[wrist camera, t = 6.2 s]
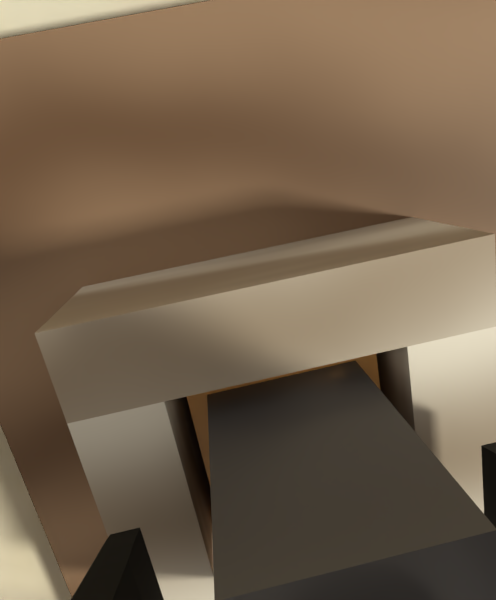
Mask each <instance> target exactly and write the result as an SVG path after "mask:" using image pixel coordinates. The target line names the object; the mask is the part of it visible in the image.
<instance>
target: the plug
mask: <svg viewBox="0 0 496 600" xmlns="http://www.w3.org/2000/svg"><path fill="white" fill-rule="evenodd" d="M207 404H208V432H209V460H210V488H211V515H212V543H213V571H214V599H215V600H496V528H495V526H494V525H493V524H492V523H491V522H490V521H489V519H488V518H487V517H486V516H485V515H484V513H483V512H482V511H481V510H480V509H479V507H478V506H477V505H476V504H475V503H474V501H473V500H472V499H471V498H470V497H469V495H468V494H467V493H466V492H465V491H464V489H463V488H462V487H461V486H460V485H459V484H458V482H457V481H456V480H455V479H454V478H453V476H452V475H451V474H450V473H449V472H448V470H447V469H446V468H445V467H444V466H443V464H442V463H441V462H440V461H439V460H438V458H437V457H436V456H435V455H434V454H433V453H432V451H431V450H430V449H429V448H428V447H427V445H426V444H425V443H424V442H423V441H422V439H421V438H420V437H419V436H418V435H417V433H416V432H415V431H414V430H413V429H412V427H411V426H410V425H409V424H408V423H407V421H406V420H405V419H404V418H403V417H402V416H401V414H400V413H399V412H398V411H397V410H396V408H395V407H394V406H393V405H392V404H391V402H390V401H389V400H388V399H387V398H386V396H385V395H384V394H383V393H382V392H381V390H380V389H379V388H378V387H377V386H376V384H375V383H374V382H373V381H372V380H371V379H370V377H369V376H368V375H367V374H366V373H365V371H364V370H363V369H362V368H361V367H360V365H359V364H358V363H357V362H356V361H351V362H347V363H343V364H338V365H334V366H330V367H325V368H321V369H317V370H312V371H308V372H304V373H299V374H295V375H291V376H286V377H282V378H278V379H273V380H269V381H265V382H260V383H256V384H252V385H247V386H243V387H239V388H234V389H230V390H226V391H221V392H217V393H213V394H208V395H207Z"/></svg>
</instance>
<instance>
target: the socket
mask: <svg viewBox="0 0 496 600" xmlns="http://www.w3.org/2000/svg"><path fill="white" fill-rule="evenodd" d="M372 354H376V355H377V364H378V372H379V381H380V389H381V392H382V393H383V394H384V395H385V396H386V398H387V399H388V400H389V401H390V402H391V404H392V405H393V406H394V407H395V408H396V410H397V411H398V412H399V413H400V414H401V416H402V417H403V418H404V419H405V420H406V421H407V423H408V424H409V425H410V426H411V427H412V429H413V430H414V431H415V432H416V433H417V435H418V436H419V437H420V438H421V439H422V441H423V442H424V443H425V444H426V445H427V447H428V448H429V449H430V450H431V451H432V453H433V454H434V455H435V456H436V457H437V458H438V460H439V461H440V462H441V463H442V464H443V466H444V467H445V468H446V469H447V470H448V472H449V473H450V474H451V475H452V476H453V478H454V479H455V480H456V481H457V482H458V484H459V485H460V486H461V487H462V488H463V489H464V491H465V492H466V493H467V494H468V495H469V497H470V498H471V499H472V500H473V501H474V503H475V504H476V505H477V506H478V507H479V509H480V510H481V511H482V512H483V513H484V499H483V475H482V451H481V446H482V445H486V444H490V443H494V442H496V0H209V1H204V2H198V3H193V4H187V5H182V6H177V7H171V8H166V9H160V10H155V11H149V12H144V13H138V14H133V15H127V16H122V17H116V18H111V19H106V20H100V21H95V22H89V23H84V24H78V25H73V26H67V27H62V28H56V29H51V30H45V31H40V32H35V33H29V34H24V35H18V36H13V37H7V38H2V39H0V424H1V427H2V429H3V432H4V434H5V436H6V439H7V441H8V444H9V446H10V449H11V451H12V453H13V456H14V458H15V461H16V463H17V465H18V468H19V470H20V473H21V475H22V478H23V480H24V482H25V485H26V487H27V490H28V492H29V495H30V497H31V499H32V502H33V504H34V507H35V509H36V511H37V514H38V516H39V519H40V521H41V524H42V526H43V528H44V531H45V533H46V536H47V538H48V541H49V543H50V545H51V548H52V550H53V553H54V555H55V557H56V560H57V562H58V565H59V567H60V570H61V572H62V574H63V577H64V579H65V582H66V584H67V587H68V589H69V591H70V594H71V596H72V597H73V595H74V593H75V592H76V590H77V588H78V587H79V585H80V583H81V582H82V580H83V578H84V577H85V575H86V573H87V571H88V570H89V568H90V566H91V565H92V563H93V561H94V560H95V558H96V556H97V554H98V553H99V551H100V549H101V548H102V546H103V544H104V543H105V541H106V540H107V538H108V537H109V535H110V534H114V533H119V532H123V531H127V530H131V529H135V528H140V529H141V532H142V535H143V538H144V541H145V544H146V547H147V550H148V553H149V556H150V559H151V563H152V566H153V569H154V572H155V575H156V578H157V581H158V584H159V587H160V590H161V593H162V596H163V599H164V600H215V599H214V571H213V543H212V515H211V488H210V484H209V480H208V476H207V473H206V469H205V465H204V461H203V458H202V454H201V450H200V446H199V442H198V439H197V435H196V431H195V427H194V423H193V420H192V416H191V412H190V408H189V404H188V401H187V396H191V395H196V394H200V393H204V392H209V391H213V390H218V389H222V388H227V387H231V386H235V385H240V384H244V383H249V382H253V381H257V380H262V379H266V378H271V377H275V376H280V375H284V374H288V373H293V372H297V371H302V370H306V369H310V368H315V367H319V366H324V365H328V364H333V363H337V362H341V361H346V360H350V359H355V358H359V357H363V356H368V355H372Z"/></svg>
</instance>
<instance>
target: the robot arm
mask: <svg viewBox="0 0 496 600" xmlns="http://www.w3.org/2000/svg"><path fill="white" fill-rule="evenodd" d="M481 451H482V475H483V499H484V515H485V516H486V517H487V518H488V519H489V521H490V522H491V523H492V524H493V525H494V526H495V528H496V442H494V443H490V444H486V445H482V446H481ZM71 600H164V599H163V596H162V593H161V590H160V587H159V584H158V581H157V578H156V575H155V572H154V569H153V566H152V563H151V559H150V556H149V553H148V550H147V547H146V544H145V541H144V538H143V535H142V532H141V529H140V528H135V529H131V530H127V531H123V532H119V533H114V534H110V535H109V537H108V538H107V540H106V541H105V543H104V544H103V546H102V548H101V549H100V551H99V553H98V554H97V556H96V558H95V560H94V561H93V563H92V565H91V566H90V568H89V570H88V571H87V573H86V575H85V577H84V578H83V580H82V582H81V583H80V585H79V587H78V588H77V590H76V592H75V593H74V595H73V597H72V598H71Z"/></svg>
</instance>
